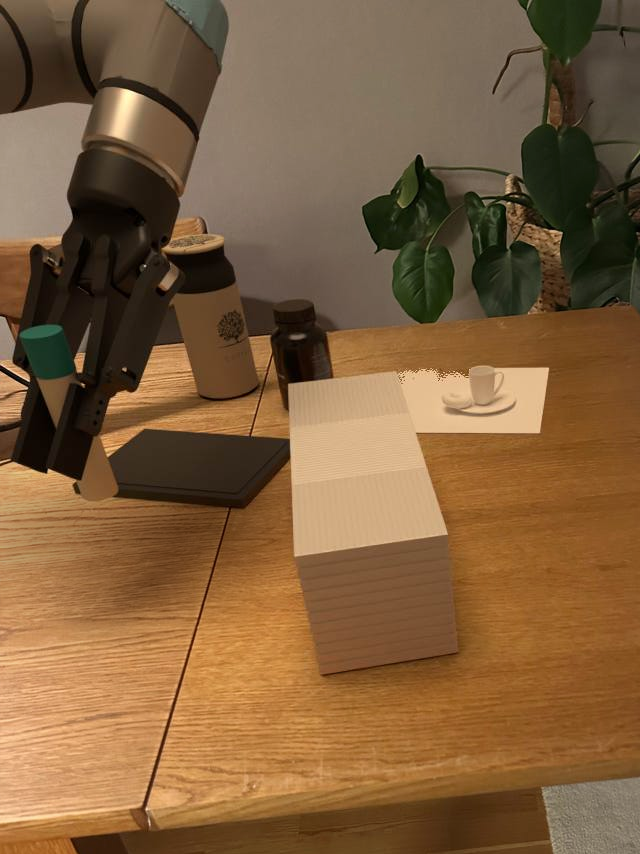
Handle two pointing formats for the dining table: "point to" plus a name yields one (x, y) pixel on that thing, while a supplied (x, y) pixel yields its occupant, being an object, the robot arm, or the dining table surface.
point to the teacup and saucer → (476, 400)
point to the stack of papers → (367, 526)
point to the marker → (54, 378)
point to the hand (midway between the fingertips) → (46, 470)
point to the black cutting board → (196, 466)
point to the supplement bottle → (299, 345)
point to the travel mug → (212, 317)
